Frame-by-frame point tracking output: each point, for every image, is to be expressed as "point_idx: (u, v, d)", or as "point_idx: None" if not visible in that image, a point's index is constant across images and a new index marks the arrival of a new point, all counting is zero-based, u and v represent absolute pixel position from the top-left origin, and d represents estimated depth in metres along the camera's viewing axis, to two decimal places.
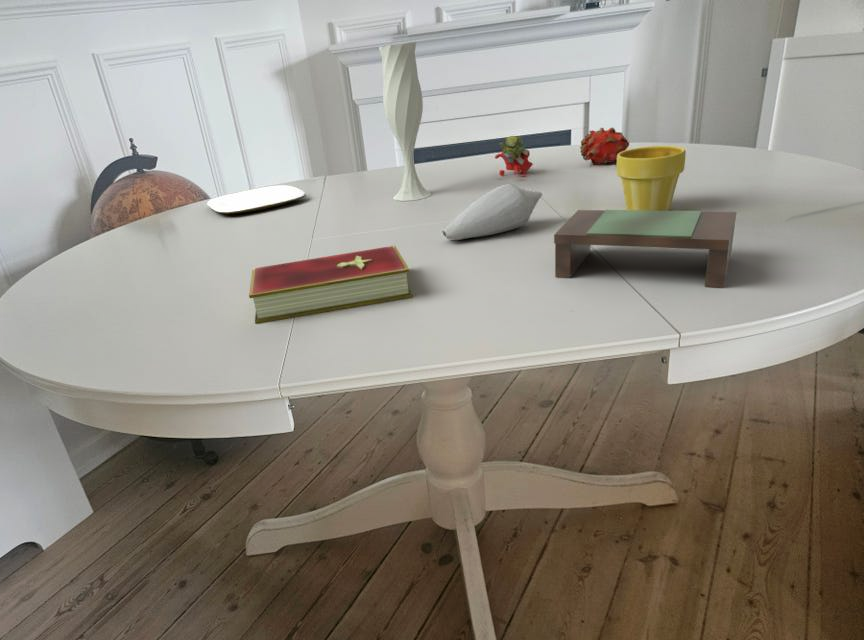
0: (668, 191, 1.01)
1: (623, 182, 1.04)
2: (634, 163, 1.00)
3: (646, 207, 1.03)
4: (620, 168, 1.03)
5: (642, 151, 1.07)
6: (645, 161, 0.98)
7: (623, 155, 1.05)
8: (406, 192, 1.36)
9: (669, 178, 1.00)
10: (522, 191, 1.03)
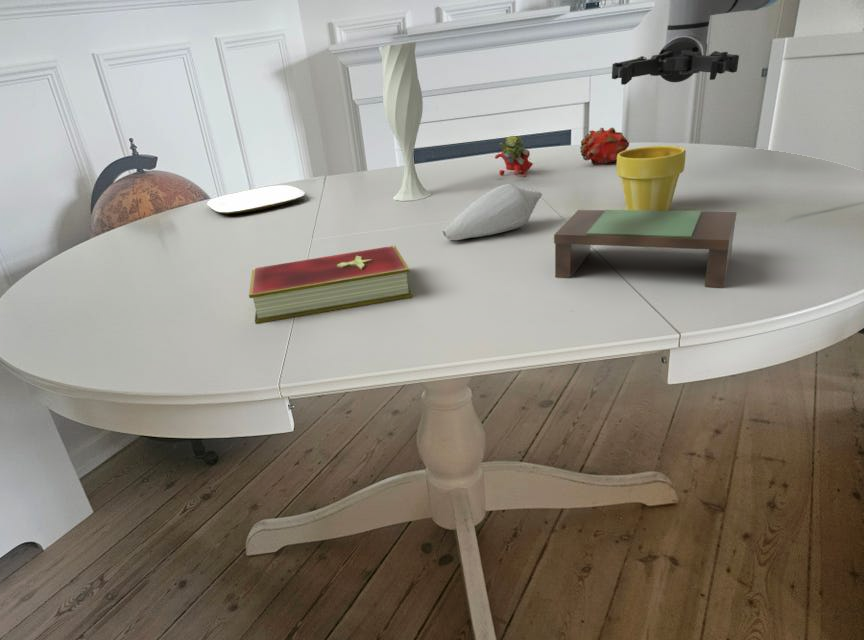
0: (668, 191, 1.01)
1: (623, 182, 1.04)
2: (634, 163, 1.00)
3: (646, 207, 1.03)
4: (620, 168, 1.03)
5: (642, 151, 1.07)
6: (645, 161, 0.98)
7: (623, 155, 1.05)
8: (406, 192, 1.36)
9: (669, 178, 1.00)
10: (522, 191, 1.03)
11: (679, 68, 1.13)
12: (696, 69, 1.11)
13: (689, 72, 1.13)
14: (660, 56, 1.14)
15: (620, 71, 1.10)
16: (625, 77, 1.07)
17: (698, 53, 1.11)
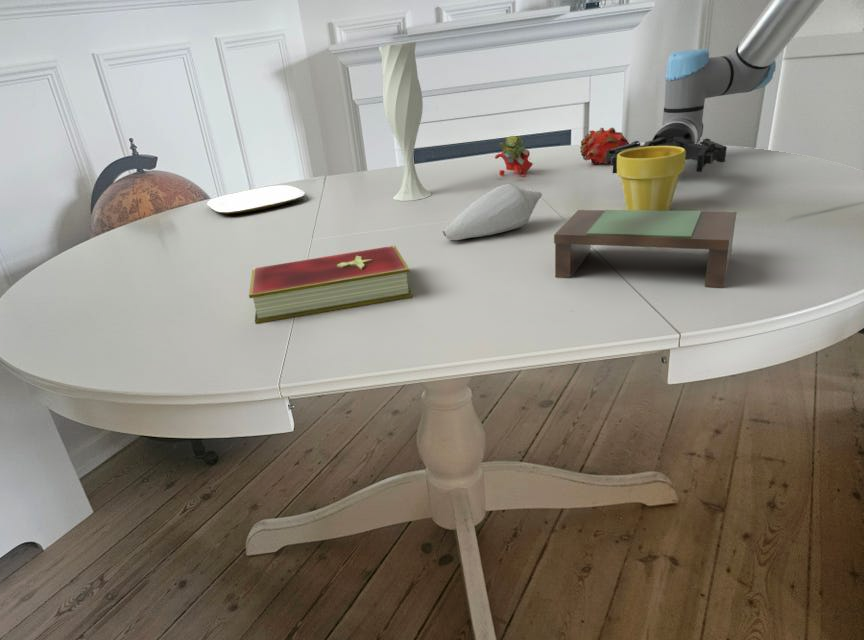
0: (668, 191, 1.01)
1: (623, 182, 1.04)
2: (634, 163, 1.00)
3: (646, 207, 1.03)
4: (620, 168, 1.03)
5: (642, 151, 1.07)
6: (645, 161, 0.98)
7: (623, 155, 1.05)
8: (406, 192, 1.36)
9: (669, 178, 1.00)
10: (522, 191, 1.03)
11: None
12: (687, 156, 1.16)
13: None
14: (652, 143, 1.19)
15: (612, 159, 1.15)
16: (616, 166, 1.12)
17: (689, 141, 1.15)
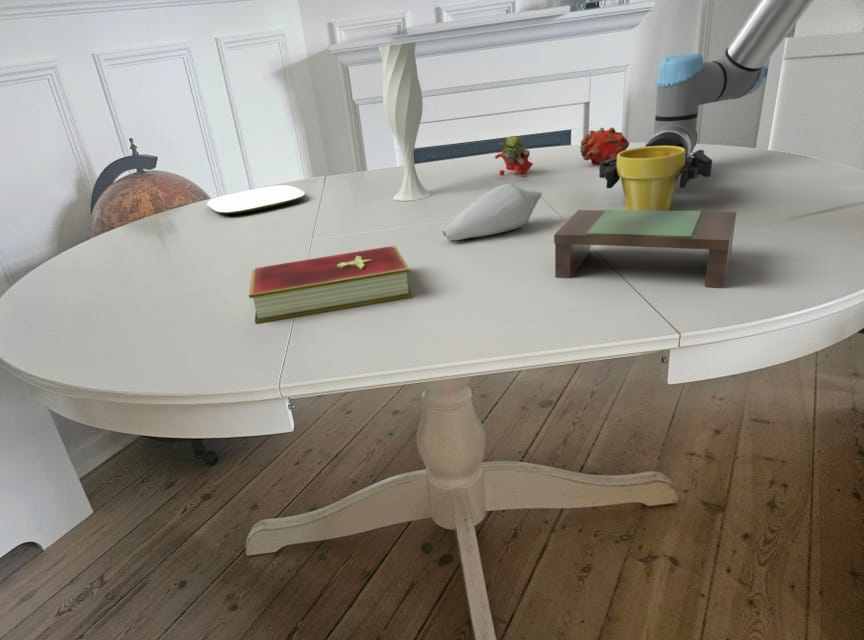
0: (668, 191, 1.01)
1: (623, 182, 1.04)
2: (634, 163, 1.00)
3: (646, 207, 1.03)
4: (620, 168, 1.03)
5: (642, 151, 1.07)
6: (645, 161, 0.98)
7: (623, 155, 1.05)
8: (406, 192, 1.36)
9: (669, 178, 1.00)
10: (522, 191, 1.03)
11: None
12: None
13: None
14: None
15: (606, 173, 1.06)
16: (610, 181, 1.03)
17: None
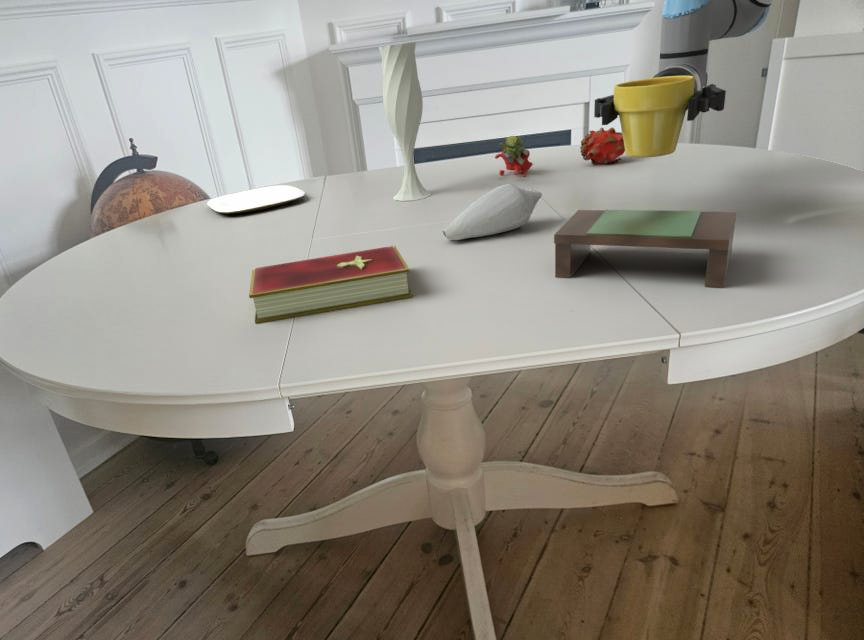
0: (674, 126, 0.86)
1: (621, 118, 0.89)
2: (634, 92, 0.85)
3: (648, 146, 0.88)
4: (617, 100, 0.88)
5: (644, 84, 0.92)
6: (647, 89, 0.84)
7: None
8: (406, 192, 1.36)
9: (675, 110, 0.85)
10: (522, 191, 1.03)
11: None
12: None
13: None
14: None
15: (602, 109, 0.91)
16: (606, 116, 0.88)
17: None
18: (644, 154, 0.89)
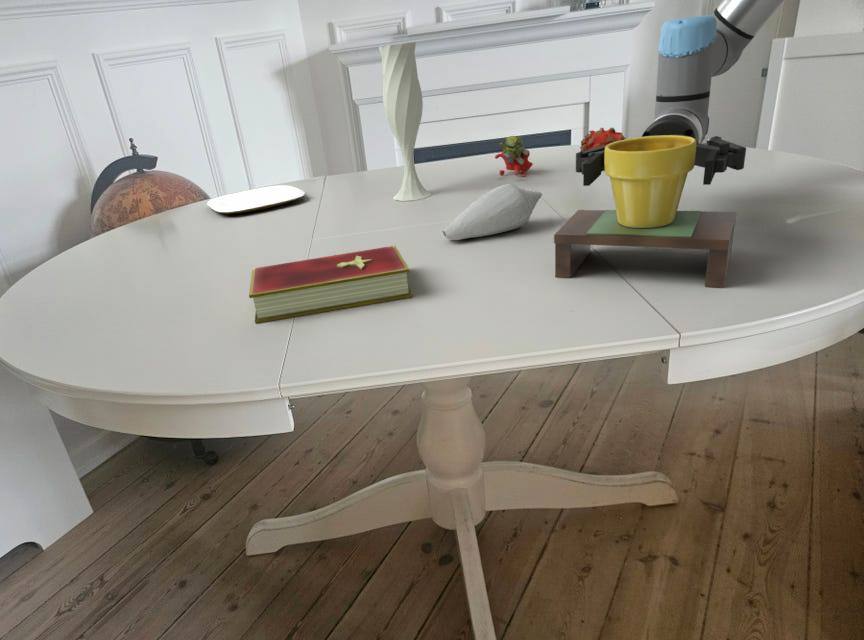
0: (673, 196, 0.76)
1: (613, 183, 0.78)
2: (627, 158, 0.74)
3: (643, 217, 0.77)
4: (609, 165, 0.77)
5: (638, 143, 0.81)
6: (642, 155, 0.73)
7: (613, 148, 0.80)
8: (406, 192, 1.36)
9: (674, 178, 0.74)
10: (522, 191, 1.03)
11: None
12: None
13: None
14: None
15: (583, 166, 0.82)
16: (588, 176, 0.79)
17: None
18: (638, 225, 0.78)
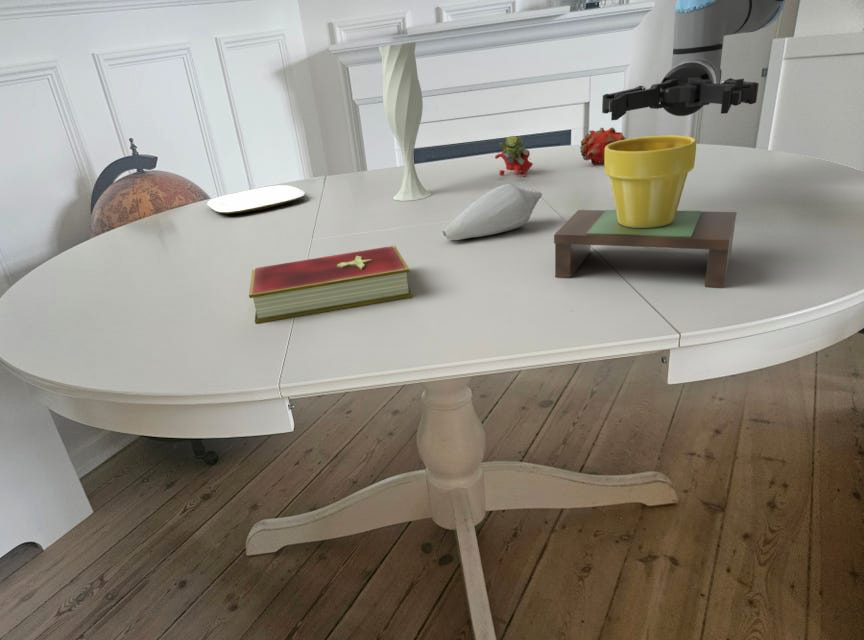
0: (673, 196, 0.76)
1: (613, 183, 0.78)
2: (627, 158, 0.74)
3: (643, 217, 0.77)
4: (609, 165, 0.77)
5: (638, 143, 0.81)
6: (642, 155, 0.73)
7: (613, 148, 0.80)
8: (406, 192, 1.36)
9: (674, 178, 0.74)
10: (522, 191, 1.03)
11: (685, 99, 0.93)
12: (706, 100, 0.91)
13: (697, 104, 0.93)
14: (661, 85, 0.94)
15: (611, 104, 0.90)
16: (616, 111, 0.87)
17: (708, 81, 0.91)
18: (638, 225, 0.78)
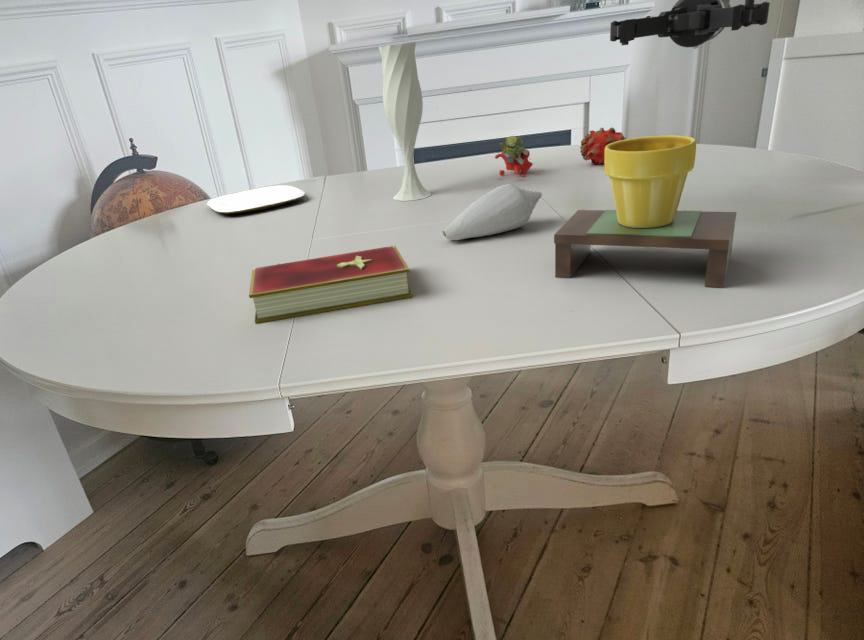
0: (673, 196, 0.76)
1: (613, 183, 0.78)
2: (627, 158, 0.74)
3: (643, 217, 0.77)
4: (609, 165, 0.77)
5: (638, 143, 0.81)
6: (642, 155, 0.73)
7: (613, 148, 0.80)
8: (406, 192, 1.36)
9: (674, 178, 0.74)
10: (522, 191, 1.03)
11: (694, 26, 0.92)
12: (715, 25, 0.90)
13: (707, 30, 0.92)
14: (670, 12, 0.93)
15: (619, 28, 0.89)
16: (624, 33, 0.86)
17: (717, 6, 0.89)
18: (638, 225, 0.78)
